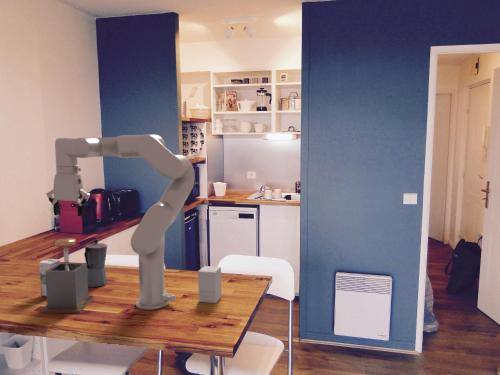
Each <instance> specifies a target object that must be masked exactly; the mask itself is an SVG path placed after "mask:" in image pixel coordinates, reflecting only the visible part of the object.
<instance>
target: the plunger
mask: <svg viewBox="0 0 500 375" xmlns="http://www.w3.org/2000/svg"><path fill="white" fill-rule="evenodd" d="M76 241H77V239H76V238H72V237H69V238H68V237H65V238H60V239H56V240H54V243H55V244H54V246H55V247H58V248H63V263H64V267H65V271H69V263H70V262H69V247H73V246H75V245H76V244H77V242H76Z"/></svg>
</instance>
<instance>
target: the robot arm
mask: <svg viewBox="0 0 500 375" xmlns="http://www.w3.org/2000/svg"><path fill="white" fill-rule="evenodd" d="M54 153H55V170H56V172H55V173H56V174H54V179H53V189H51V190H50V191H48V192H47V193H46V196H47V198H48V201H49V202H50V203H51V205H52V206H53V208H52V209H53V215H54V216H58V215H61V204H60V202H61V201H67V202H69V201H71V202H72V201H74V202H75V203H76V204H78V205H77V217H83V216H84V214H85V205H86V204H87V203H88V201H89V198H90V197H91V193H89V192H87V191H86V190H84V187H83V185H84V184H83V180H82V177H81V176H82V175H81V174H80V173H79V172H81V170H82V168H80V167H79V166H78V164H79V163H78V158H79V159H80V158H81V159H86V158H96V157H97V158H98V157H99V158H100V157H102V158H103V157H118V158H120V159H131V158H133V159H135V158H137V159H139V158H141V159H143V160H144V161H145V163H147V164H149V165H150V166H151V167H152V168H153V169H154V170H155V171H156V172H158V174H160V175H161V176H163V177H164V178H165V179H168V180H171V181H170V183H169V184H168V185H167V187H166V189H165V191H164V192H163V194H162V196H161V197H160V199H159V200H158V201H157V202H156V203H155V204H153V205H152V206H150V207H149V208H148V210H146V212H145V214H144V216H143V217H142V219H141V221H140V222H139V223H138V225H137V226H136V228H135V229H134V232H133V233H132V234H131V238H130V246H131V249H132V251H133V252H134V253H135V254H137V255H138V282H139V283H138V284H139V285H138V286H139V288H138V290H139V298H137V300H136V301H135V306H136V308H138V309H140V310H145V311H146V310H147V311H151V310H158V309H163V308H164V307H166V306H168V305H169V303H170V301H176V300H177V297H176V296H177V295H175V294H174V293H168V292H167V291H168V290H167V289H166V288H165V245H166V244H165V242H166V239H165V238H166V237H165V236H166V235H165V233H166V231H167V230H168V229H169V227H170V226H171V225H172V224H173V223H174V221H175V220H176V219H177V216H178V215H179V212H181V210H182V207H183V206H184V204H185V203H186V201H187V200H188V197H190V196H189V195H190V194H191V192H192V190H193V188H194V185H195V180H196V176H195V175H196V173H195V169H194V166H193V164H192V162H191V161H190V160H189V159H188V158H187V157H186V156H184V155H181V154H174V153H173V152H171V150H169V149H168V148H167V147H166V142H165V140H164V139H163V138H162V137H161V135H158V134H147V133H146V134H126V135H125V134H123V135H122V134H121V135H118V136H111V137H109V136H108V137H105V136H104V137H77V138H74V137H58V138H56V139H55V141H54Z"/></svg>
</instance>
